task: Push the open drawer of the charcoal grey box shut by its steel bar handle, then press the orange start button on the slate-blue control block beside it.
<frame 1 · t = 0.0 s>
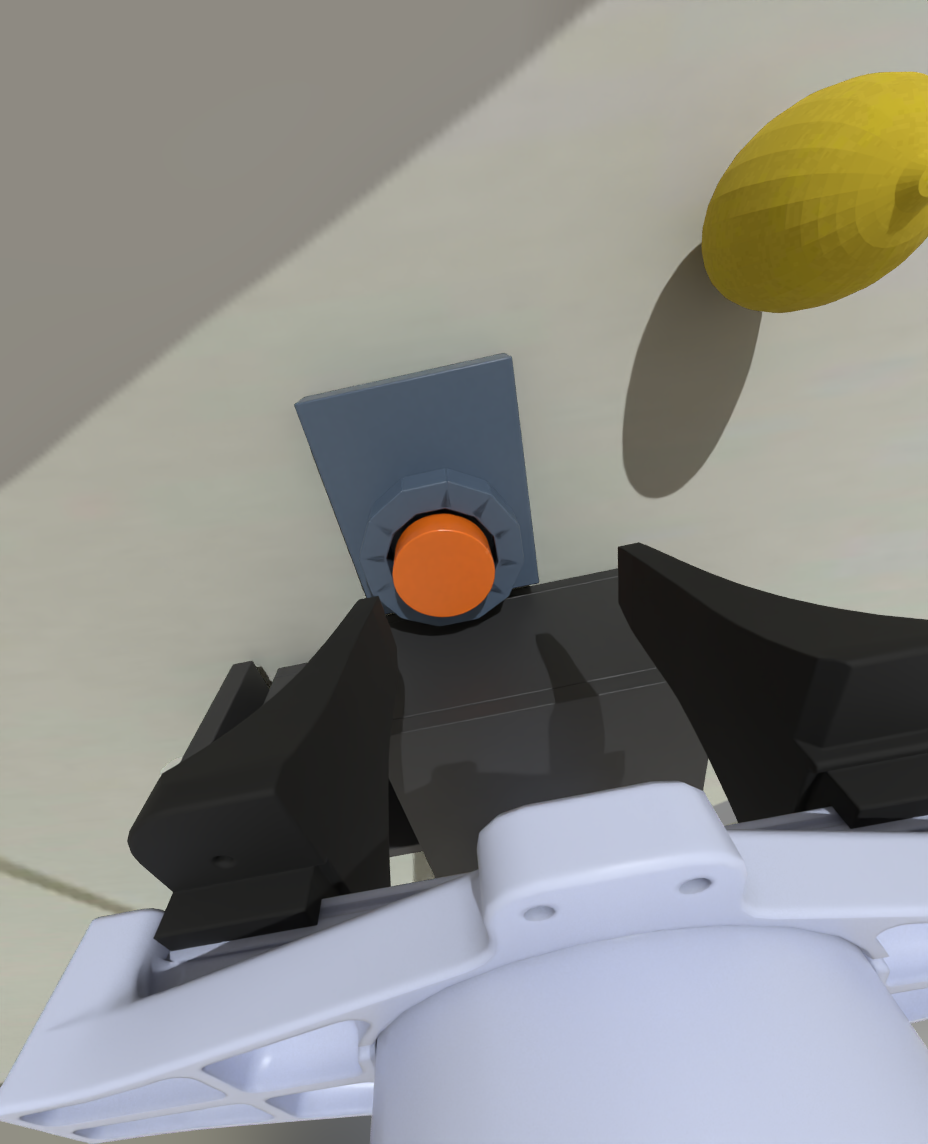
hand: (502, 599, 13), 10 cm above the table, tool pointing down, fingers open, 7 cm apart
start button: (443, 566, 19), point 4 cm above the table, slide at 0.1 cm
drawer: (334, 761, 25), point 4 cm above the table, slide at 8.0 cm
charcoal grey box: (522, 668, 28), on the table
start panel: (432, 492, 22), on the table
lemon: (730, 231, 17), on the table
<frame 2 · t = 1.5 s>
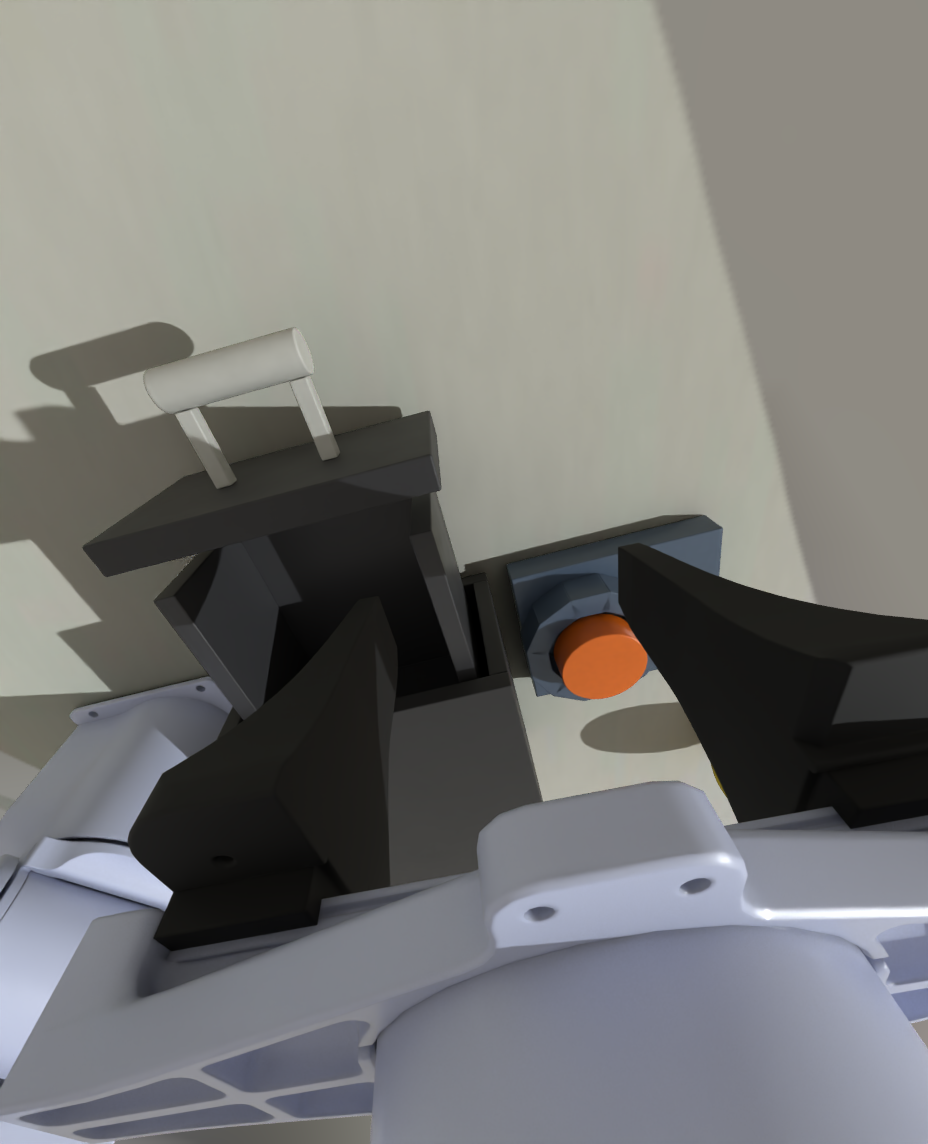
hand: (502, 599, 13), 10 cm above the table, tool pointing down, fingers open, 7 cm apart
start button: (599, 657, 23), point 4 cm above the table, slide at 0.1 cm
drawer: (331, 571, 19), point 4 cm above the table, slide at 8.0 cm
charcoal grey box: (414, 687, 28), on the table
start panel: (609, 604, 26), on the table
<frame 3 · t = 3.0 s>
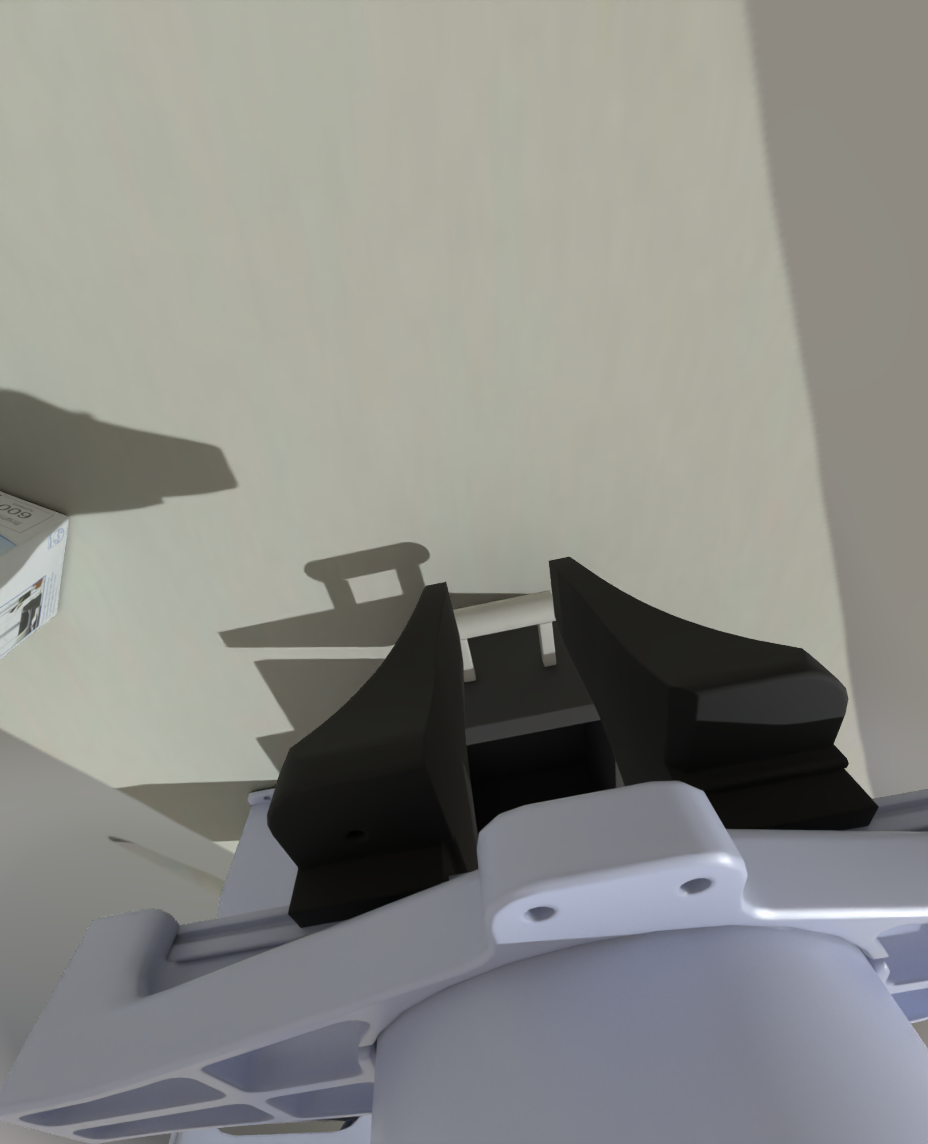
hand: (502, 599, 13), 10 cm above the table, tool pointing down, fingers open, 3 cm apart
drawer: (519, 725, 24), point 4 cm above the table, slide at 8.0 cm
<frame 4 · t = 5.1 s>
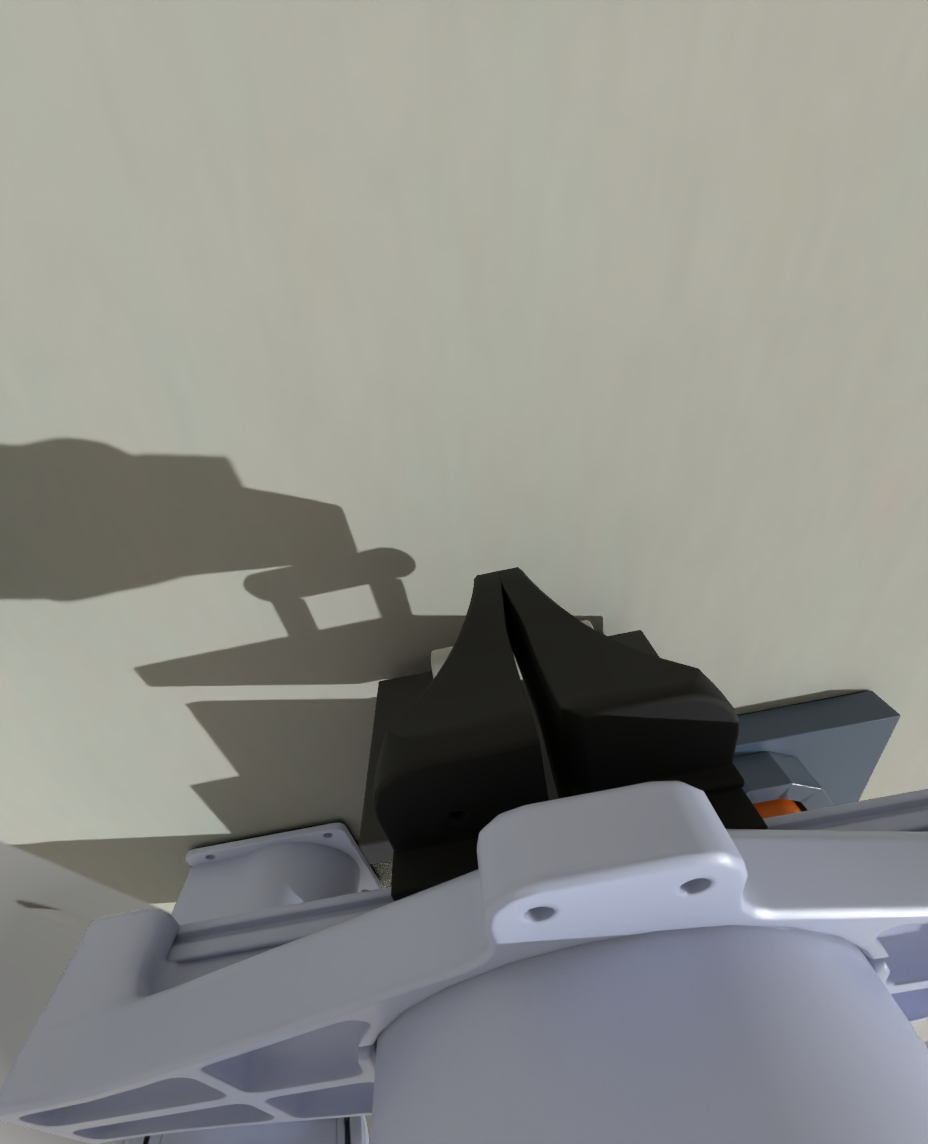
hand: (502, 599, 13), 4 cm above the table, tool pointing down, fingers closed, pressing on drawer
start button: (764, 837, 22), point 4 cm above the table, slide at 0.1 cm
drawer: (537, 793, 18), point 4 cm above the table, slide at 7.1 cm, touching gripper
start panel: (753, 761, 25), on the table
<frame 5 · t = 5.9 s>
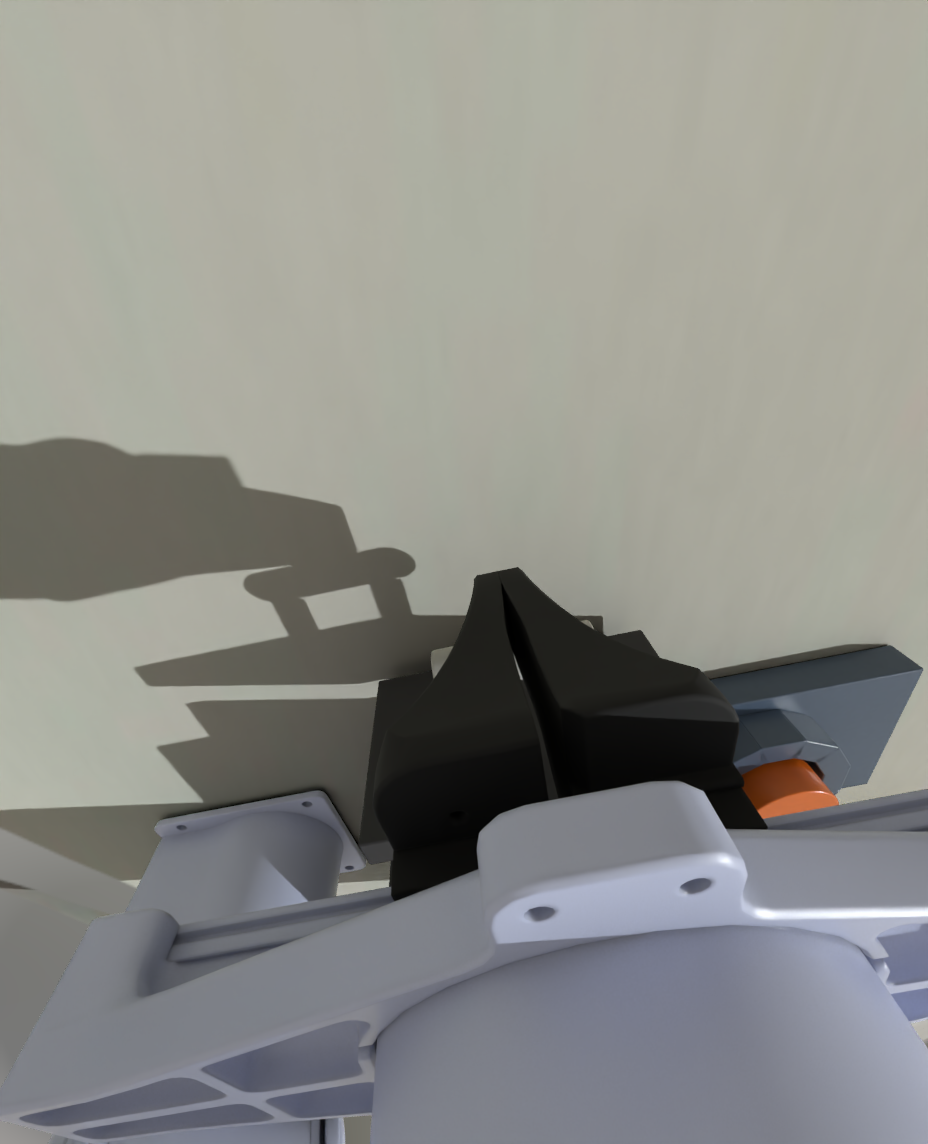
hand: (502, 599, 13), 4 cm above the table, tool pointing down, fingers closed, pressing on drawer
start button: (776, 802, 21), point 4 cm above the table, slide at 0.1 cm
drawer: (537, 793, 18), point 4 cm above the table, slide at 4.0 cm, touching gripper
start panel: (762, 725, 24), on the table
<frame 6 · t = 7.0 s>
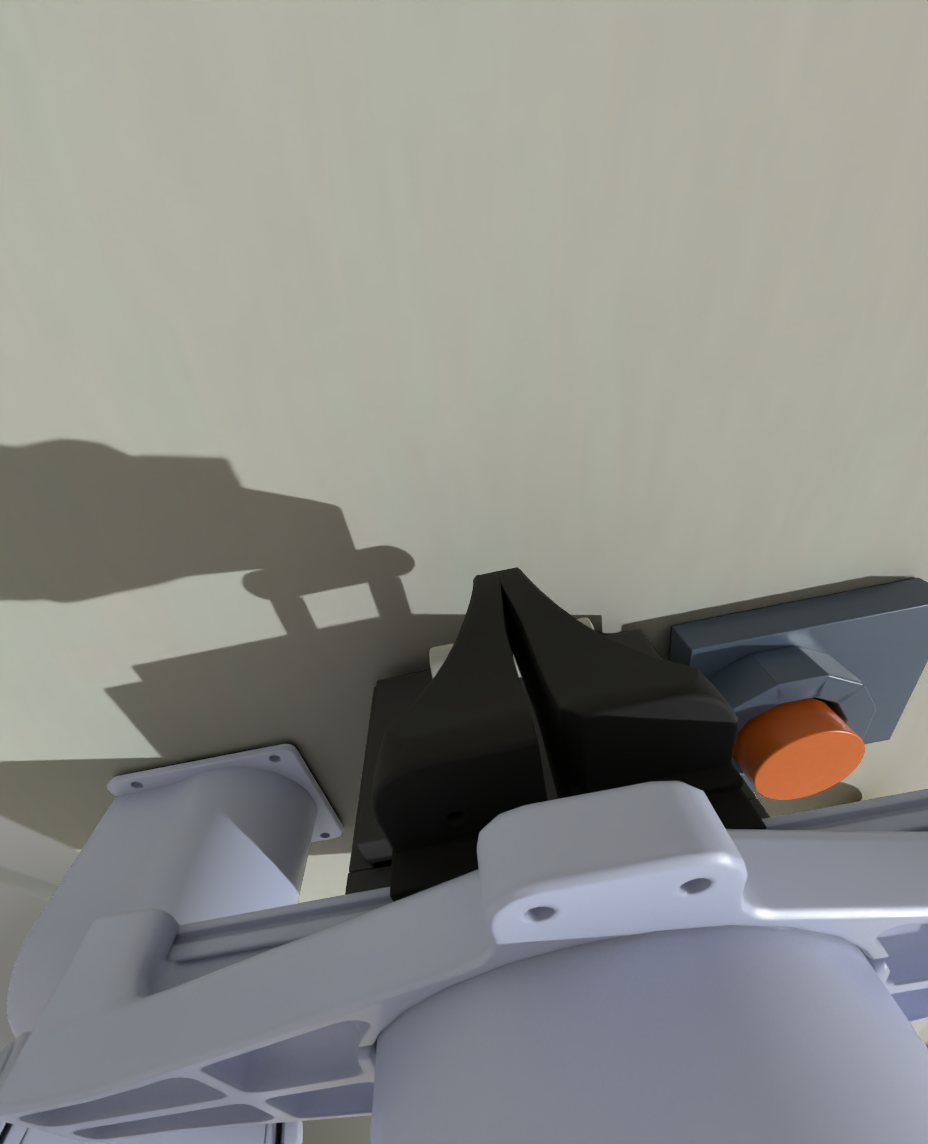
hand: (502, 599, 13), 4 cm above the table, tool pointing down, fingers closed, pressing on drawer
start button: (793, 749, 18), point 4 cm above the table, slide at 0.1 cm
drawer: (536, 793, 18), point 4 cm above the table, slide at 0.0 cm, touching charcoal grey box, gripper
charcoal grey box: (525, 759, 24), on the table
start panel: (775, 674, 22), on the table
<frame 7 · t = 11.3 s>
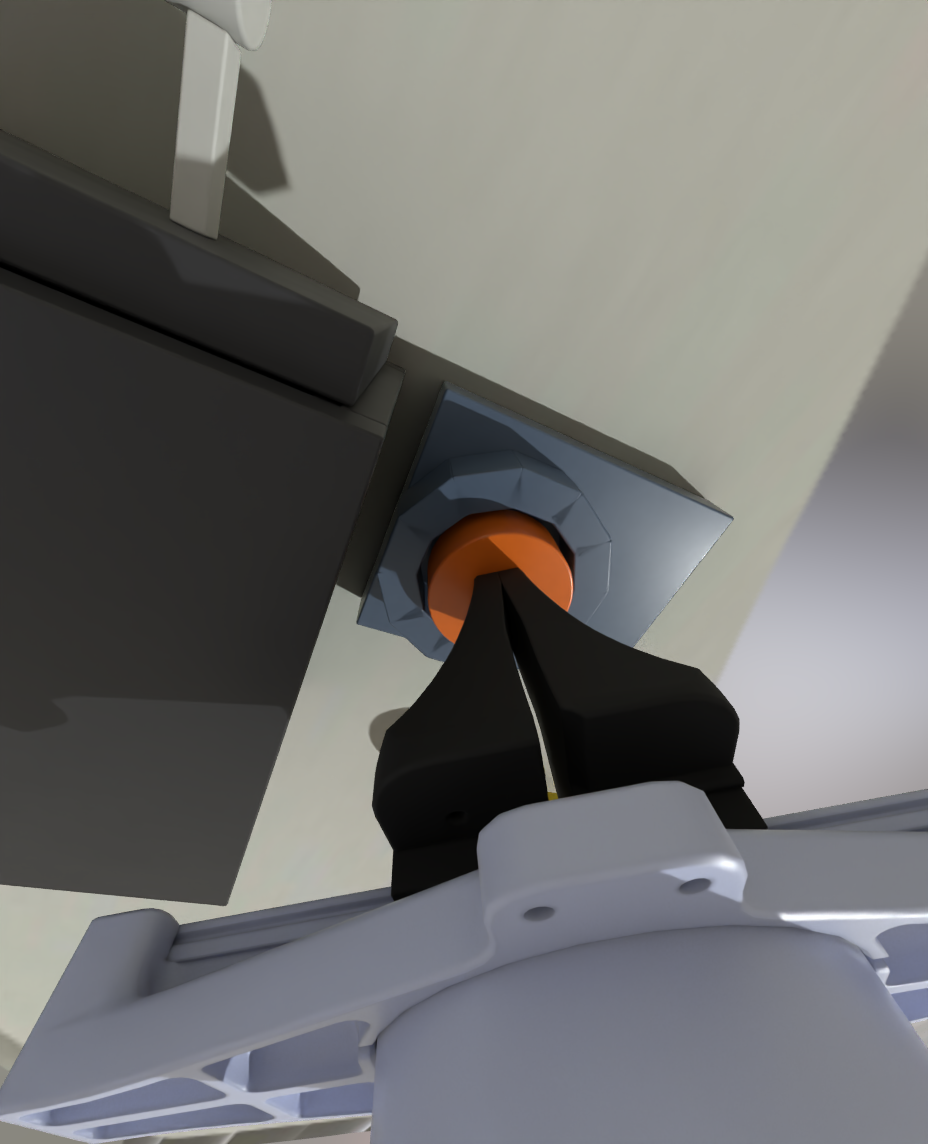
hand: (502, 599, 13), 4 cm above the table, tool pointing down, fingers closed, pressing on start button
start button: (497, 583, 14), point 4 cm above the table, slide at -0.4 cm, touching gripper
drawer: (81, 428, 10), point 4 cm above the table, slide at 0.0 cm
charcoal grey box: (163, 503, 15), on the table
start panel: (529, 551, 17), on the table
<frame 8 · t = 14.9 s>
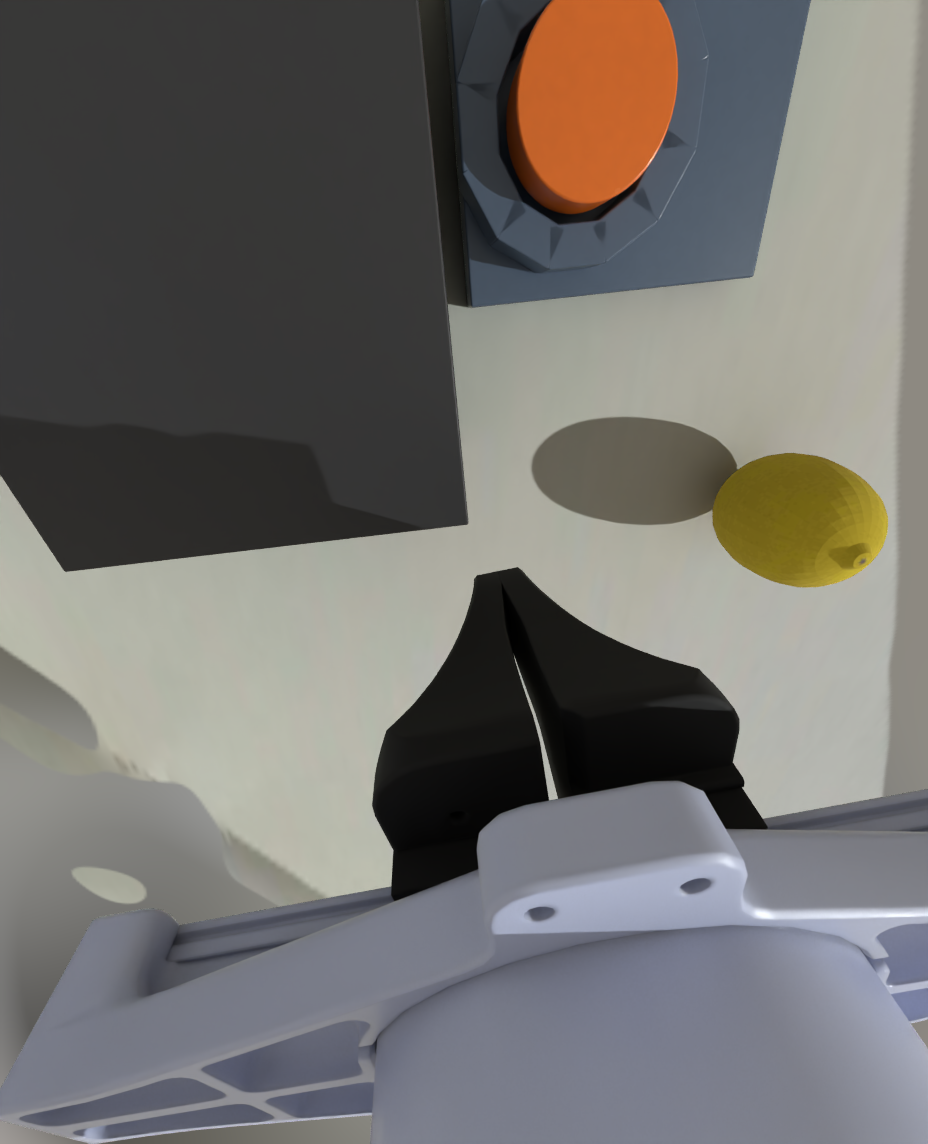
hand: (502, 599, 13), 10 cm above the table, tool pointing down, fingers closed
start button: (587, 110, 12), point 4 cm above the table, slide at 0.1 cm
charcoal grey box: (275, 284, 17), on the table
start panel: (606, 147, 16), on the table
lemon: (732, 486, 23), on the table
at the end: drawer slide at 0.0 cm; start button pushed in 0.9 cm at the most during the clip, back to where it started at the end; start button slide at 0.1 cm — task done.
